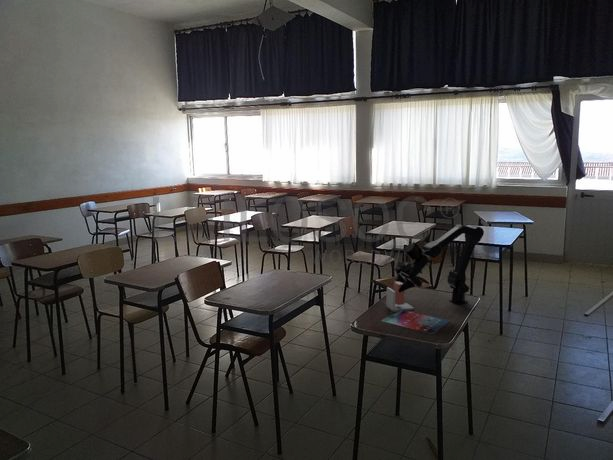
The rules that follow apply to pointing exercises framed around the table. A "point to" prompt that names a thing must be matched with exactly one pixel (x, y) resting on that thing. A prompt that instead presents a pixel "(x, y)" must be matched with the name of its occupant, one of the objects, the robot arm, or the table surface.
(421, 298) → the table surface
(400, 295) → the book
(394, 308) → the bookstand
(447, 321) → the tablet
